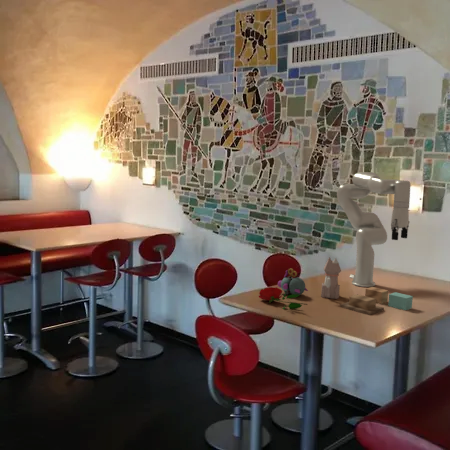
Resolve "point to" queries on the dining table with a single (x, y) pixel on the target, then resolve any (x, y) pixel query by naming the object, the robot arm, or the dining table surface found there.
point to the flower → (274, 294)
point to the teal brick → (400, 301)
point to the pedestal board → (374, 310)
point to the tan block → (377, 294)
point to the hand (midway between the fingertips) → (399, 238)
